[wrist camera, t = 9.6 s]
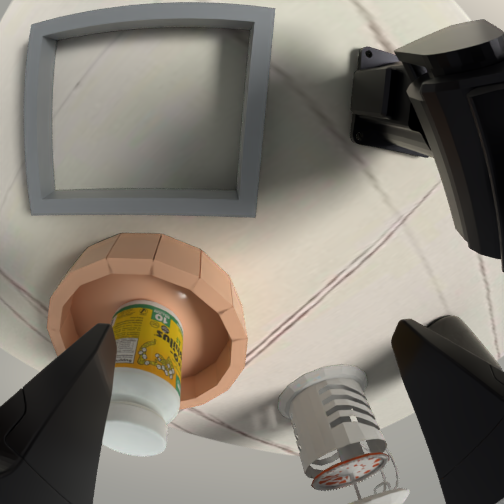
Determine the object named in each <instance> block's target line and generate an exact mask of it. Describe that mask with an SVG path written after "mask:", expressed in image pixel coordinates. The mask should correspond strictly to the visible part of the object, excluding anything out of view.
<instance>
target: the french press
mask: <svg viewBox="0 0 504 504" xmlns="http://www.w3.org/2000/svg"><path fill="white" fill-rule="evenodd" d="M367 384H368V382H367V377H366V373H365V372H363V371H362V370H361V369H360V368H358V367H357V366H350V365H344V364H340V365H334V366H327V367H322V368H319V369H317V370H314V371H312V372H309V373H307V374H304V375H303V376H301V377H300V378H298V379H297V380H295V381H294V382H292V383H291V384H289V385H288V386H287V388H286V389H285V390H284V391H283V393H282V394H281V395H280V397H279V401H278V409H279V411H280V412H281V414H282V415H283V416H284V417H286V418H288V419H291V420H292V421H291V422H292V427H293V429H294V434H295V437H296V439H297V446H298V448H299V450H300V453H299V454H300V458H301V462H302V465H303V469H304V473H305V474H306V475H307V476H308V477H309V478H313V479H314V480H313V482H312V485H311V486H312V487H313V488H314V489H316V490H321V491H322V490H324V491H326V490H329V489H330V490H332V489H333V490H334V489H336V490H337V488H339V489H340V487H342V488H343V487H347V486H350V485H351V484H352V485H353V484H354V487H355V490H356V493H357V496H358V499H359V500H357V501H354V502H352V503H349V504H403V502H404V501H405V499H406V498H407V496H408V495H409V493H410V490H407V489H402V488H398V489H396V488H397V487H398V484H399V472H398V469H397V466H396V464H395V461H394V459H393V456H392V455H391V453H390V452H389V450H388V449H387V443H386V441H385V439H384V436H383V435H382V433H381V431H379V429H380V427H379V425H378V423H377V421H376V420H375V417H374V414H373V412H372V410H371V408H370V406H369V403H368V402H367V399H366V397H365V395H364V391H365V389H366V386H367ZM352 408H353V410H354V411H353V410H351V409H352ZM349 416H356V418H357V420H358V422H351V419H350V417H349ZM293 425H295V427H296V428H295V427H294V426H293ZM296 435H298V438H297V436H296ZM364 440H366V442H367V444H368V446H369V449H370V450H369V449H368V448H367V447H366V446H364V445H363V444H361V443H360V441H364ZM299 445H300V446H301V449H300V447H299ZM362 447H363V448H364V449H366V450H367V451H368V452H370V453H368V454H364V452H363V450H362ZM336 449H337V451H338V452H337V453H335V454H334V455H333V456H331V457H329V458H326V459H322V460H317V459H318V458H320V457H322V456H324V455H325V454H327V453H329V452H332V451H334V450H336ZM385 450H386V451H387V453H388V455H389V456H390V458H391V460H392V462H393V464H394V467H395V470H396V476H397V481H396V486H395V488H394V489H392V488H391V486H390V484H389V483H388V482H386V477H385V475H384V472H383V468H384V467H385V466H386V464H388V462H389V456H388V455H387V454H384V453H383V452H384V451H385ZM339 457H340V460H341V462H340V463H337V464H335V465H332V466H331V467H329V468H327V469H326V470H324V471H323V470H317V469H313V468H312V467H311V466H310V464H311V463H312V464H316V465H325V464H328V463H331V462H333V461H335V460H336V459H338V458H339ZM379 471H381V474H382V476H383V479H384V482H382V483H381V484H379V485H377V486H376V487H375V489H374V494H375V495H371V496H368V497H366V498H363V499H361V496H360V493H359V490H358V487H357V485H356V484H357V482H358V483H359V482H360V481H363V480H366V479H367V478H369V477H372V475H373V474H374V475H375V474H377V473H376V472H379ZM383 484H384V490H383V492H382V493H378V494H377V493H376V489H377V488H378V487H380V486H382V485H383ZM386 485H388V488H389V491H386Z"/></svg>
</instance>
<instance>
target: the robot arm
mask: <svg viewBox="0 0 504 504" xmlns="http://www.w3.org/2000/svg"><path fill="white" fill-rule="evenodd" d="M366 51H367V52H368V53H369V55H370V56H369V58H368V57H367V56H366V54H365V52H366ZM394 52H395V54H396V55H394V54H391V53H388V52H384V51H381V50H378V49H375V48H371V47H364V48H361V49H360V51H359V59H358V70H357V72H355V73H354V81H353V91H352V100H351V111H352V113H353V116H352V124H351V132H350V138H351V140H352V141H353V142H354V143H357V144H361V145H367V146H372V147H378V148H383V149H388V150H393V151H398V152H403V153H408V154H412V155H417V156H421V157H425V158H428V157H429V156H430V157H433V158H434V159H435V162H436V165H437V168H438V171H439V174H440V177H441V180H442V183H443V186H444V190H445V193H446V196H447V200H448V203H449V207H450V210H451V214H452V218H453V221H454V225H455V229H456V230H457V231H458V232H459V233H460V235H461V236H462V237H463V238H464V239H465V240H466V241H467V242H468V247H469V248H470V249H472V250H474V251H476V252H477V253H479V254H481V255H485V256H488V257H492V258H496V259H501V262H502V271H503V272H504V32H503V31H502V30H501V29H499V28H497V27H496V26H494V25H493V24H491V23H489V22H488V21H486V20H484V19H482V20H476V21H470V22H465V23H460V24H455V25H451V26H449V27H446V28H444V29H441V30H439V31H436V32H434V33H432V34H429V35H427V36H425V37H422V38H420V39H418V40H416V41H413V42H411V43H409V44H407V45H405V46H403V47H400V48H398V49H396V50H394ZM357 133H360V134H361V137H360V139H357V138H356V135H357ZM391 344H392V348H393V351H394V354H395V357H396V361H397V364H398V367H399V370H400V374H401V377H402V380H403V383H404V385H405V388H406V390H407V393H408V395H409V398H410V400H411V403H412V405H413V408H414V411H415V413H416V415H417V418H418V421H419V424H420V426H421V429H422V432H423V434H424V437H425V440H426V443H427V446H428V448H429V451H430V454H431V457H432V460H433V463H434V466H435V469H436V472H437V475H438V478H439V480H440V481H439V482H440V485H441V488H442V491H443V495H444V498H445V502H446V504H504V372H503V371H502V370H500V369H498V368H496V367H495V366H493V365H491V364H489V363H488V362H486V361H484V360H483V359H481V358H479V357H477V356H476V355H474V354H472V353H470V352H469V351H467V350H465V349H463V348H462V347H460V346H458V345H456V344H455V343H453V342H451V341H449V340H448V339H446V338H444V337H442V336H441V335H439V334H437V333H435V332H434V331H432V330H430V329H428V328H427V327H425V326H423V325H421V324H419V323H418V322H416V321H414V320H412V319H402V320H400V321H399V322H398V325H397V327H396V329H395V332H394V334H393V336H392V340H391ZM116 355H117V345H116V340H115V336H114V332H113V327H112V325H111V324H107V323H98V324H96V325H95V326H94V327H92V328H91V329H90V330H89V331H88V332H86V333H85V334H84V335H83V336H82V337H80V338H79V339H78V340H77V341H76V342H74V343H73V344H72V345H71V346H70V347H68V348H67V349H66V350H65V351H64V352H63V353H61V354H60V355H59V356H58V357H57V358H56V359H54V360H53V361H52V362H51V363H50V364H49V365H47V366H46V367H45V368H44V369H43V370H42V371H41V372H39V373H38V374H37V375H36V376H35V377H34V378H33V379H32V380H31V381H29V382H28V383H27V384H26V385H25V386H24V387H23V389H20V390H19V391H18V392H17V393H16V394H15V395H13V396H12V397H11V398H10V399H9V400H8V401H6V402H5V403H4V404H3V405H2V406H0V504H93V497H94V489H95V482H96V475H97V469H98V463H99V457H100V451H101V446H102V440H103V435H104V430H105V425H106V420H107V415H108V411H109V406H110V401H111V396H112V388H113V379H114V370H115V362H116Z"/></svg>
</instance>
